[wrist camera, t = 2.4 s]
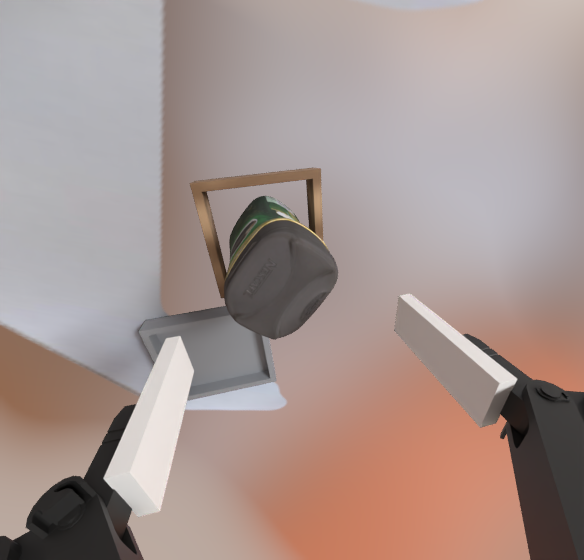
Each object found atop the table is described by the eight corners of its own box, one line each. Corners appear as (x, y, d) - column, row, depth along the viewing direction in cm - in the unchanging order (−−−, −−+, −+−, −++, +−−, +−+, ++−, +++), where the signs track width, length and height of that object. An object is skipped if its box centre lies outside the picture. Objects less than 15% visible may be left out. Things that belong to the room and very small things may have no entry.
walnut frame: (195, 180, 29) (189, 183, 26) (313, 167, 31) (320, 168, 28) (222, 286, 36) (221, 298, 33) (317, 270, 38) (324, 280, 35)
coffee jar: (268, 271, 37) (288, 361, 20) (221, 243, 34) (201, 323, 17) (306, 219, 34) (364, 274, 18) (260, 184, 31) (279, 211, 15)
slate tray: (145, 320, 37) (138, 331, 34) (262, 299, 39) (263, 309, 36) (178, 389, 44) (174, 403, 42) (274, 369, 46) (276, 381, 44)
